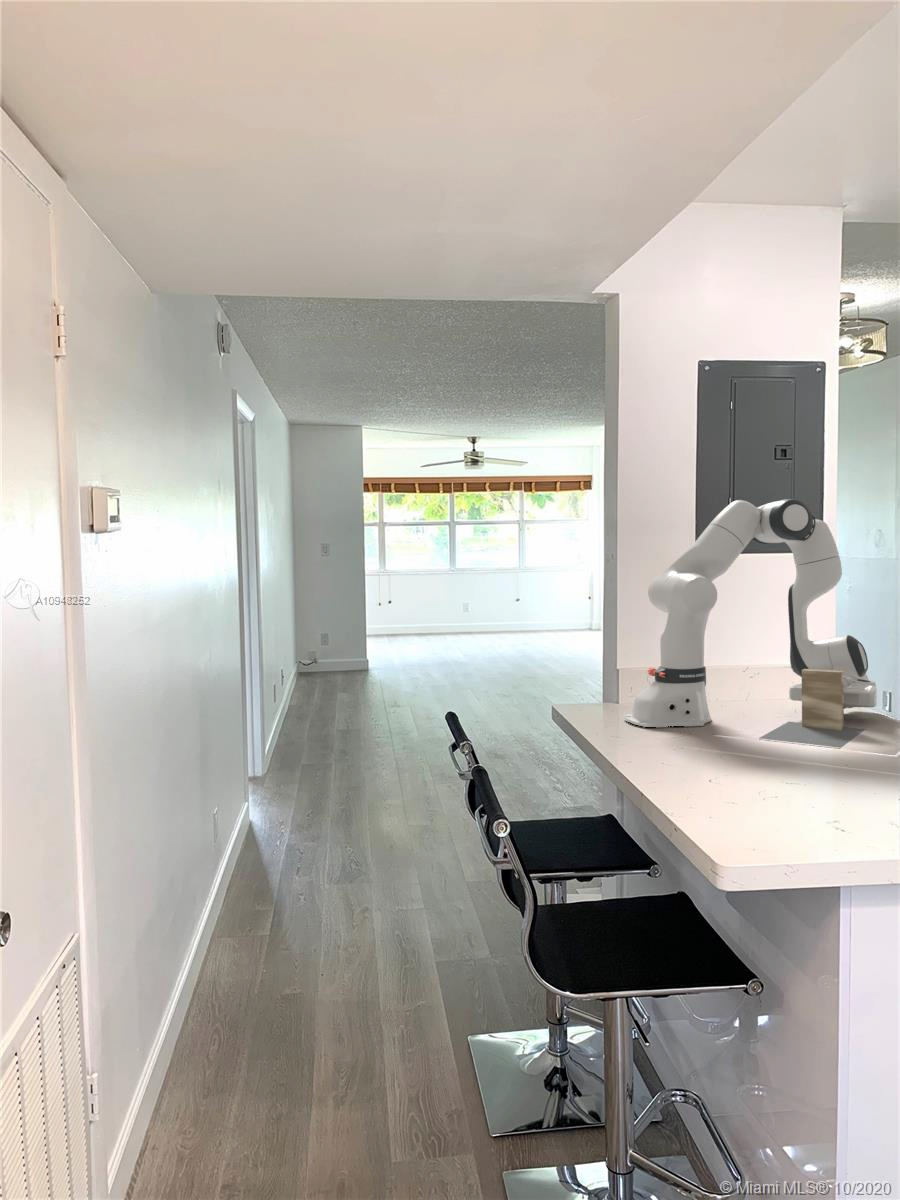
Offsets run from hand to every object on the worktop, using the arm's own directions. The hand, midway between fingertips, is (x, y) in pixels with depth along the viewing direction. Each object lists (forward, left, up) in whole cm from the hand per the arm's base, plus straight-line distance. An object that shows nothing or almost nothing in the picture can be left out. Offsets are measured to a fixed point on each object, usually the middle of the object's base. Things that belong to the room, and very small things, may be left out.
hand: (824, 699), depth 207 cm
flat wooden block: (-1, -1, -7) cm, 7 cm away
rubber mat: (-8, -6, -7) cm, 12 cm away
